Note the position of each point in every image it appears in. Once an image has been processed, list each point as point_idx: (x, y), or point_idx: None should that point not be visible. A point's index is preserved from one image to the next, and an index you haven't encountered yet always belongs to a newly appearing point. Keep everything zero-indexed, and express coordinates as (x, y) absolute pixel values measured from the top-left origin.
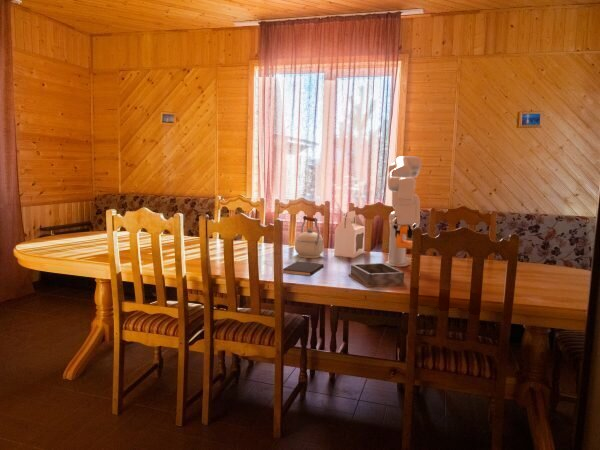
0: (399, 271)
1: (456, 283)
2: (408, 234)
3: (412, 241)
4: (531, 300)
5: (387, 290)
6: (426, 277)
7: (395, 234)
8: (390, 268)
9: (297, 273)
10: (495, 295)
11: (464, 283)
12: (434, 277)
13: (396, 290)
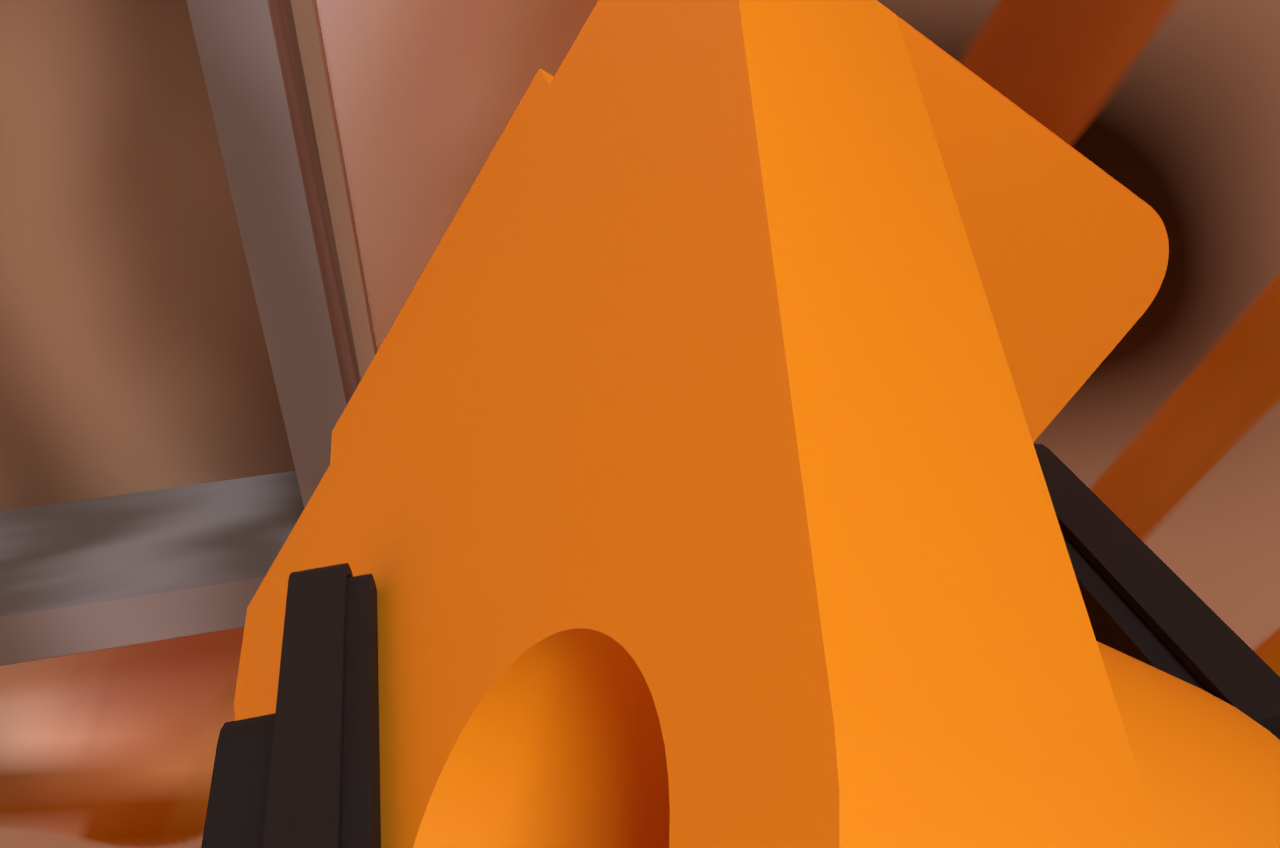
0: None
1: (1169, 407)
2: None
3: (1113, 333)
4: None
5: (27, 706)
6: (1019, 17)
7: (220, 806)
8: (228, 160)
9: None
10: None
11: (1262, 411)
12: (1147, 35)
13: (167, 702)
